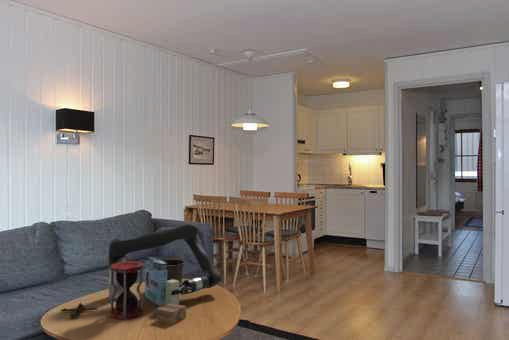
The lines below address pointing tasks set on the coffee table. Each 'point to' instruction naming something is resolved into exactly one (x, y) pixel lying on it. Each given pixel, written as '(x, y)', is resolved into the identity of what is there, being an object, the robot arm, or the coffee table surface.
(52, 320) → the coffee table surface
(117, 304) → the hourglass
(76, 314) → the brown crossed bar shape
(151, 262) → the gum box
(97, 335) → the coffee table surface
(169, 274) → the plant pot
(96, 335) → the coffee table surface
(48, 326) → the coffee table surface
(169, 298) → the sage block
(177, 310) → the walnut base block
